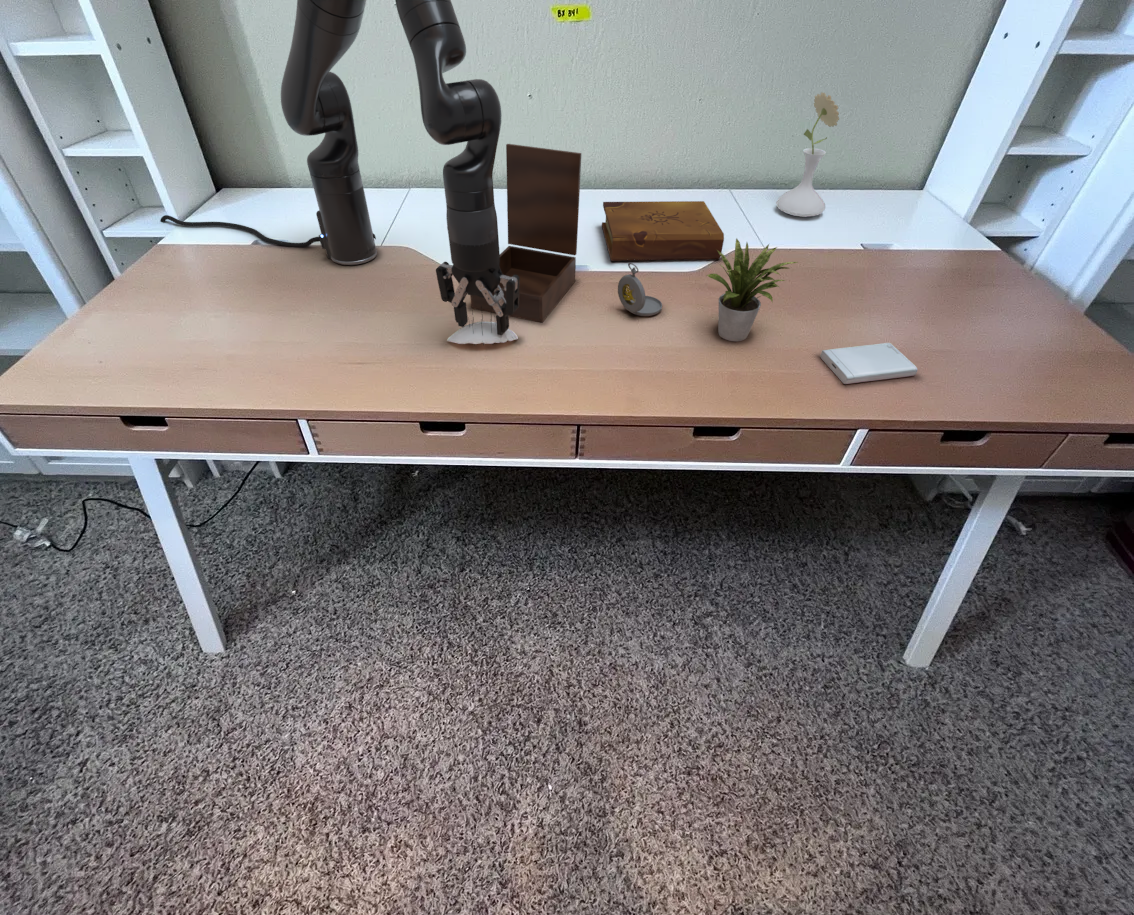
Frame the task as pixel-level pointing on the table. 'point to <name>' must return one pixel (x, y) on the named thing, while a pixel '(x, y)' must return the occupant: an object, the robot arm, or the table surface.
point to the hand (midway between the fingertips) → (482, 328)
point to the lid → (543, 198)
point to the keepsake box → (534, 281)
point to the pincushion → (481, 333)
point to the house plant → (743, 292)
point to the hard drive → (868, 363)
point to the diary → (661, 231)
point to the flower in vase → (810, 167)
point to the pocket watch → (637, 296)
